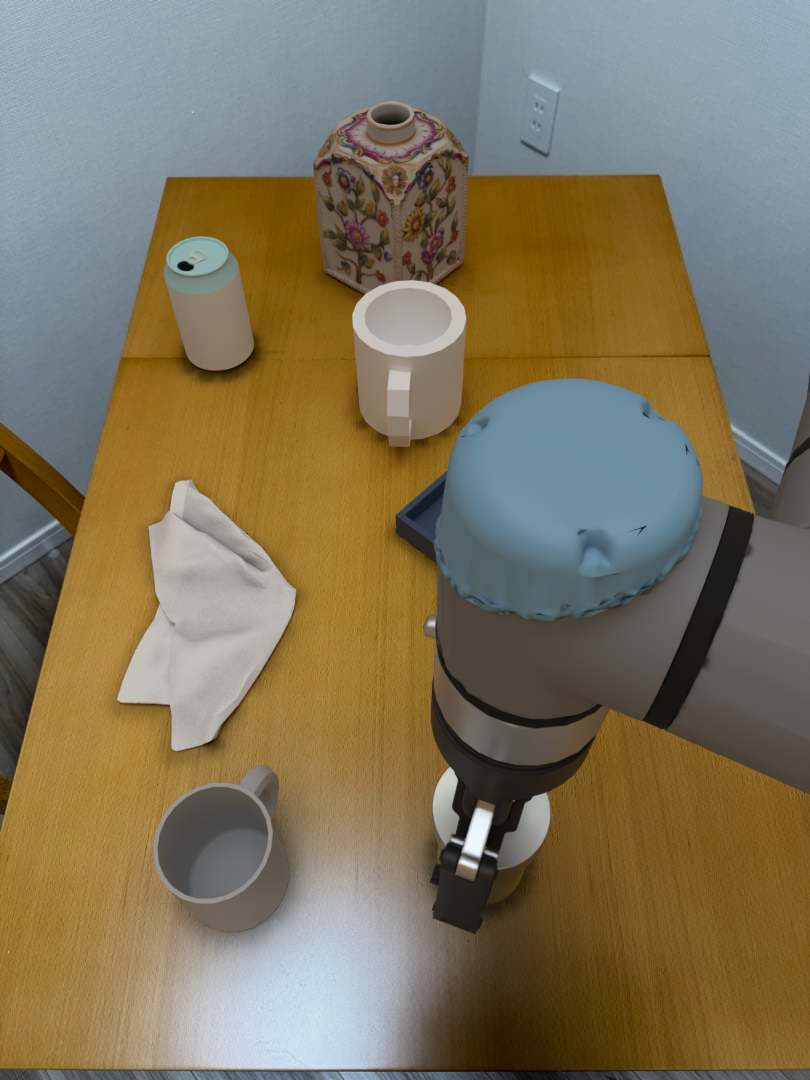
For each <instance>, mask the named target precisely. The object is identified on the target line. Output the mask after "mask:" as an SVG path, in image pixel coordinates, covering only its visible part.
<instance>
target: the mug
mask: <svg viewBox="0 0 810 1080" xmlns="http://www.w3.org/2000/svg"><path fill="white" fill-rule="evenodd" d="M466 315H467V314H466V310H465V306H464V305H463V303H462V302H461V301H460V298H458V297H457V295H455V294H454V293H453V292H451V291H449V290H448V289H447V288H445V287H444V286H443V287H442V286H440V285H438V284H432V283H429V282H422V281H415V280H408V281H395V282H392V283H388V284H384V285H381V286H379V287H377V288H375V289H373V290H371V291H370V292H368V293H366V294H365V295H364V294H363V296H362V297H361V298H360V299H359V300H358V301H357V303H356V305H355V307H354V309H353V312H352V314H351V316H352V317H351V319H352V330H353V344H354V354H355V355H354V356H355V367H356V368H355V369H356V380H357V381H356V382H357V389H358V390H357V393H358V405H359V412H360V414H361V416H362V418H363V420H364V422H365V423H366V424H368V426H370V427H371V428H372V429H373V430H374V431H375V432H377V433H380V434H382V435H383V436H386V437H387V439H388V446H389V447H399V448H401V447H402V448H410V447H411V441H412V440H424V439H426V438H430V437H433V436H435V435H439V434H440V433H442V432H443V431H445V430H446V429H447V428H449V427H450V426H451V425H453V423H454V422H455V420H456V419H457V418H458V417H459V414H460V410H461V407H462V401H463V384H464V383H463V382H464V366H465V349H466V334H467V332H466V331H467V316H466Z"/></svg>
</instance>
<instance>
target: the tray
mask: <svg viewBox="0 0 810 1080" xmlns="http://www.w3.org/2000/svg"><path fill="white" fill-rule="evenodd" d="M446 475H447V470H446V471H445V472H443V473H442V474H441V475H440V476H439V477H438V478H436V479H435V480H434V481H433V482H432V483H431V484H430V485H428V486H427V487H426V488H425V489H424V490H423V491H422V492H420V493H419V494H418V495H417V496H416V497H414V499H412V500H411V501H410V502H408V504H407V505H405V506H404V507H403V508H402V509H400V511H398V512H397V513H396V514H395V533H396V534H397V535H399V536H400V537H401V538H402V539H404V540H405V541H407V542H408V543H409V544H411V546H413V547H415V548H416V549H417V550H418V551H420V552H421V553H422V554H423V555H425V556H426V557H428V558H429V559H431V560H432V561H433V562H435V563H436V553H435V549H434V540H435V539H436V535H435V530H436V522H437V519H438V517H439V516H440V514H441V509H442V502H443V495H444V489H445V482H446Z"/></svg>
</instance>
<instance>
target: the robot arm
mask: <svg viewBox="0 0 810 1080" xmlns="http://www.w3.org/2000/svg"><path fill="white" fill-rule="evenodd" d="M807 386H808V388H807V390H806V399H805V402H804V406H803V410H802V413H801V416H800V419H799V424H798V427H797V429H796V434H795V437H794V441H793V444H792V447H791V451H790V455H789V458H788V461H787V462H786V464H785V467H784V470H783V473H782V476H781V479H780V482H779V485H778V487H777V491H776V494H775V497H774V500H773V503H772V506H771V509H770V513H769V516H768V518H766V517H764V516H760V515H757V514H755V513H754V512H750V511H747V510H744V509H742V508H739V507H737V506H734V505H730V504H728V503H726V502H722V501H720V500H718V499H713V498H711V497H708V496H706V495H703V493H704V492H703V491H704V476H703V470H702V466H701V462H700V459H699V456H698V454H697V451H696V449H695V447H694V446H693V444H692V441H691V440H690V437H689V436H688V434H687V433H686V432H685V431H684V430H683V428H682V426H681V425H679V424H678V423H677V422H675V421H674V420H671V419H666V418H665V417H663V416H662V414H660V413H659V412H658V411H656V410H655V408H654V407H653V406H652V405H651V403H650V401H649V400H648V398H646V397H645V396H643V395H641V394H639V393H637V392H634V391H632V390H629V389H627V388H625V387H622V386H619V385H616V384H612V383H610V382H606V381H600V380H595V379H588V378H576V377H575V378H571V377H570V378H566V377H565V378H555V379H552V378H551V379H545V380H539V381H534V382H531V383H527V384H523V385H521V386H518V387H516V388H514V389H511V390H509V391H507V392H505V393H502V394H501V395H499V396H497V397H495V398H493V399H492V400H491V401H489V402H488V403H487V404H485V405H484V406H483V407H482V408H481V409H479V410H478V411H477V412H476V413H475V415H474V416H472V417H471V419H470V420H469V421H468V422H467V424H466V425H465V426H464V427H463V428H462V429H461V430H460V432H459V433H458V435H457V436H456V439H455V443H454V445H453V448H452V450H451V453H450V455H449V460H448V464H447V468H446V471H447V475H446V482H445V489H444V495H443V502H442V509H441V514H440V516H439V517H438V519H437V522H436V530H435V535H436V539H435V540H434V549H435V553H436V562H435V564H437V569H436V574H437V576H436V578H437V579H436V614H430V615H429V614H428V615H427V616H426V618H425V621H424V622H423V625H422V631H423V634H424V636H425V637H428V638H431V639H434V641H435V642H434V660H433V675H432V680H431V695H430V696H431V697H430V726H431V732H432V736H433V739H434V742H435V744H436V747H437V749H438V751H439V753H440V755H441V756H442V758H443V760H444V761H445V763H446V764H447V765H448V767H451V768H452V770H453V771H454V772H455V775H456V777H457V779H458V782H457V786H456V790H455V795H454V799H453V803H452V809H453V811H454V812H455V813H456V814H457V815H458V816H459V821H458V825H457V829H456V833H455V834H451V836H450V839H449V843H447V845H446V847H444V850H443V849H442V851H441V854H440V857H439V860H440V863H441V864H438V862H436V863H435V866H434V868H433V871H432V873H431V877H430V880H429V884H432V885H434V886H437V889H436V890H437V891H436V896H435V900H434V902H433V905H432V909H431V911H432V919H433V920H436V921H439V922H442V923H444V924H447V925H449V926H451V927H455V928H457V929H460V930H462V931H465V932H468V933H470V934H473V935H477V933H479V930H481V928H482V924H483V921H484V918H483V916H482V915H483V912H485V909H486V906H487V905H486V903H487V900H488V898H489V895H490V892H491V887H492V884H493V882H494V881H496V879H497V875H498V872H499V870H498V869H497V868H498V866H497V863H498V859H499V855H500V849H501V845H502V842H503V839H504V835H505V833H508V832H514V831H516V830H517V828H518V824H519V821H520V818H521V815H522V811H523V808H524V805H525V803H526V802H528V801H530V800H531V799H532V797H533V796H537V795H540V794H544V793H546V792H547V793H549V792H551V791H553V790H555V789H557V788H559V787H561V786H562V785H563V784H565V783H566V782H568V781H569V780H570V779H572V777H573V776H574V775H575V774H576V773H577V772H578V771H579V769H580V768H581V767H582V765H583V764H584V762H585V760H586V759H587V757H588V755H589V752H590V750H591V749H592V746H593V744H594V742H595V740H596V737H597V735H598V734H599V733H600V731H601V729H602V726H603V725H604V722H605V721H606V718H607V716H608V714H609V711H610V710H612V711H615V712H617V713H620V714H622V715H624V716H626V717H629V718H632V719H634V720H637V721H640V722H644V723H646V724H648V725H650V726H653V727H655V728H658V729H660V730H661V731H662V730H664V731H665V732H667V733H669V734H671V735H674V736H676V737H678V738H681V739H683V740H685V741H687V742H690V743H692V744H694V745H696V746H699V747H701V748H703V749H705V750H707V751H710V752H712V753H715V754H716V755H719V756H721V757H724V758H726V759H728V760H730V761H733V762H735V763H738V764H740V765H742V766H744V767H746V768H748V769H750V770H753V771H755V772H757V773H760V774H762V775H764V776H767V777H769V778H771V779H773V780H776V781H778V782H780V783H782V784H786V785H787V786H789V787H791V788H794V789H796V790H798V791H801V792H802V793H804V794H807V795H810V372H809V374H808V385H807ZM513 800H514V801H513ZM512 801H513V802H512Z"/></svg>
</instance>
